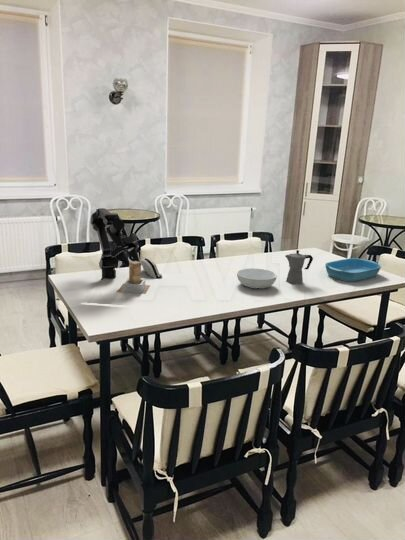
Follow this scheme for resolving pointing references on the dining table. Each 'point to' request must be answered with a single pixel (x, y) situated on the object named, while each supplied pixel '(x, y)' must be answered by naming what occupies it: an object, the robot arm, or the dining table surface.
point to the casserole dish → (352, 269)
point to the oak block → (135, 272)
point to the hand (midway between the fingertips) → (134, 263)
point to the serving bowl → (256, 277)
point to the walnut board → (139, 293)
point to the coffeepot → (296, 267)
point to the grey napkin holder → (150, 267)
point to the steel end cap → (134, 287)
